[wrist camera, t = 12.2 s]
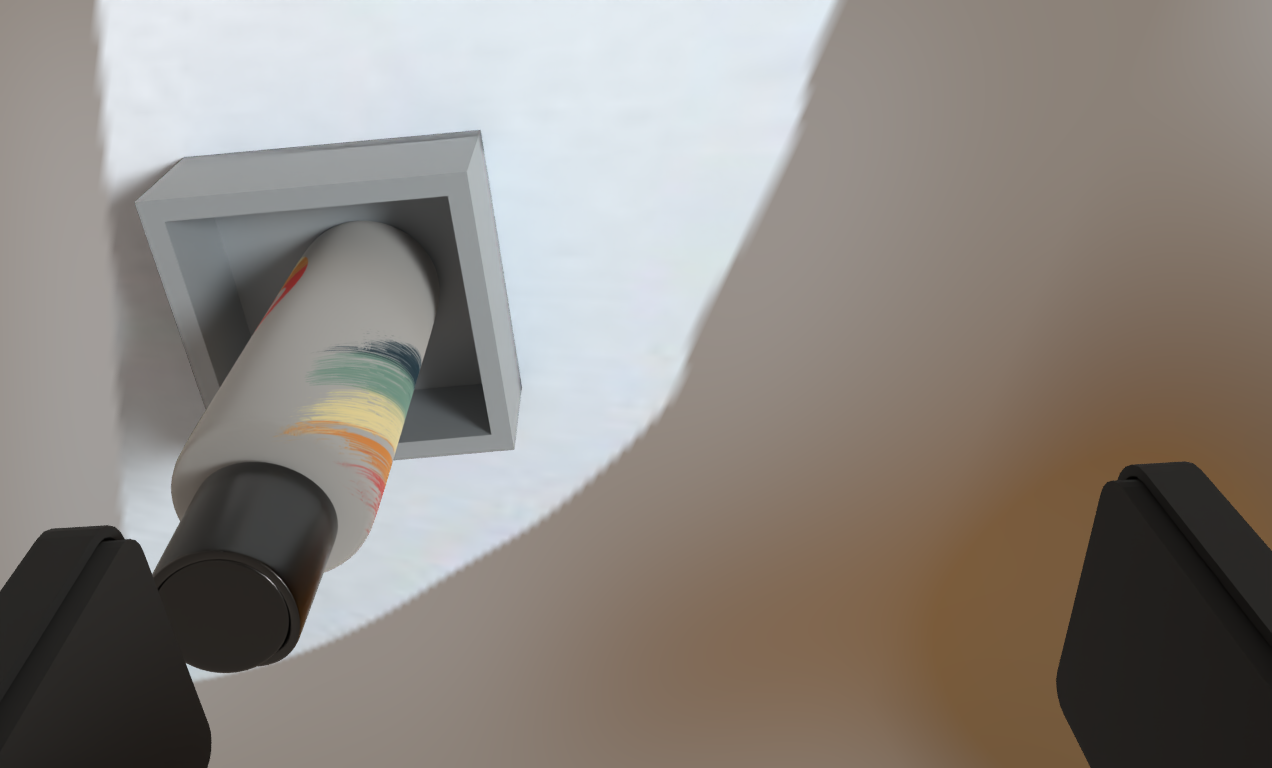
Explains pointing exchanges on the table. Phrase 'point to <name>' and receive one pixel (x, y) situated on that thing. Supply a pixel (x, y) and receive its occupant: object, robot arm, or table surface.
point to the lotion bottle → (296, 447)
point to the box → (309, 206)
